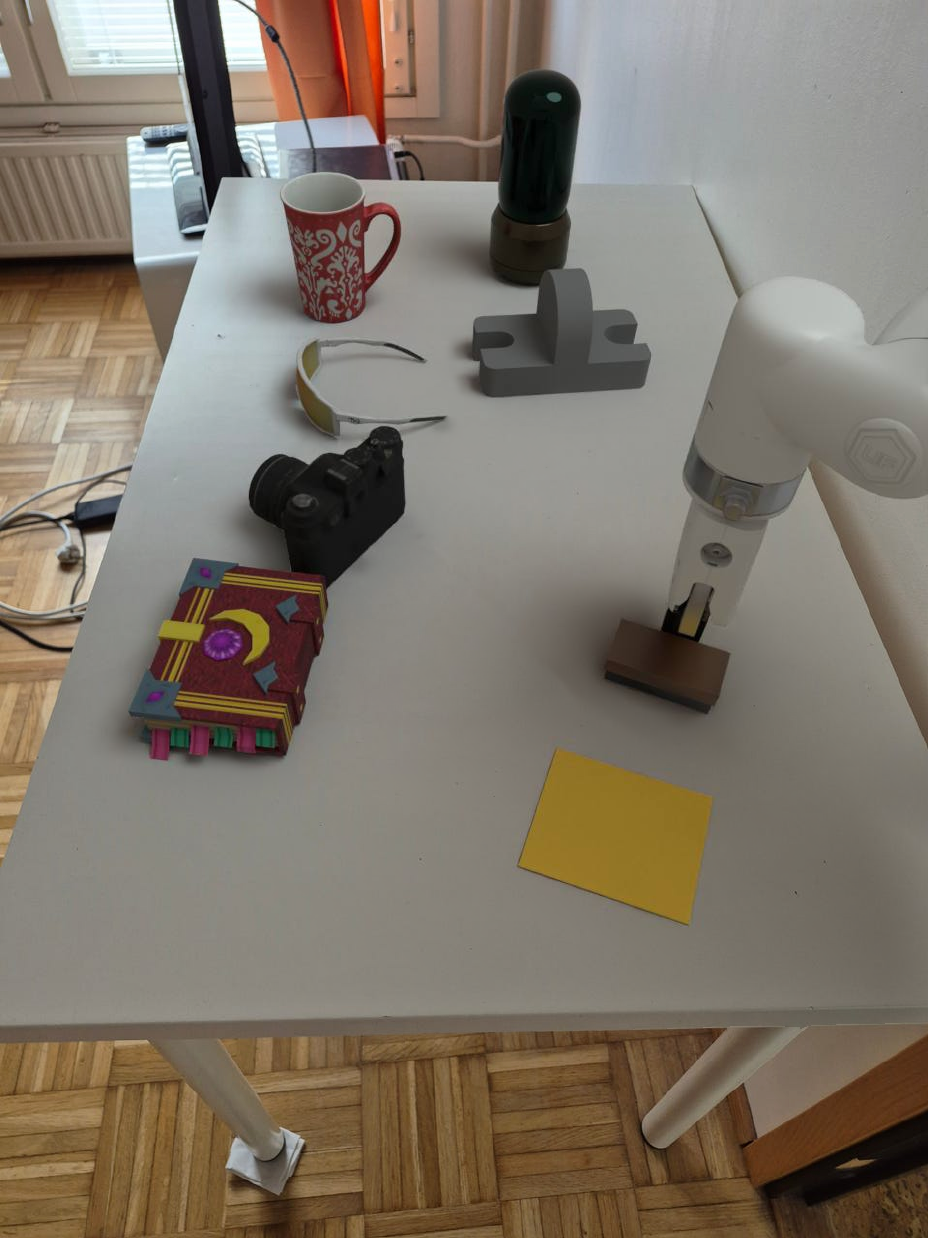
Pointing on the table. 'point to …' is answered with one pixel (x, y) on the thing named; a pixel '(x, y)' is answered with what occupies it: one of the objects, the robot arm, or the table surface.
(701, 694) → the brush
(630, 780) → the cloth
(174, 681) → the decorative book
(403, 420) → the sunglasses
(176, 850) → the table surface
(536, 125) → the lamp
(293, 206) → the mug
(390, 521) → the camera
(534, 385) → the bracket
